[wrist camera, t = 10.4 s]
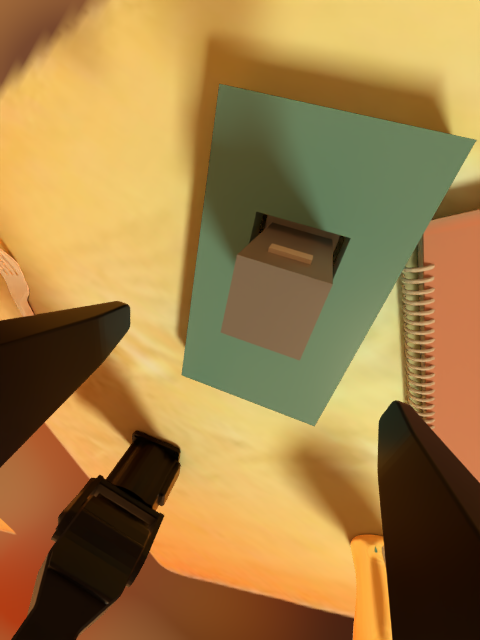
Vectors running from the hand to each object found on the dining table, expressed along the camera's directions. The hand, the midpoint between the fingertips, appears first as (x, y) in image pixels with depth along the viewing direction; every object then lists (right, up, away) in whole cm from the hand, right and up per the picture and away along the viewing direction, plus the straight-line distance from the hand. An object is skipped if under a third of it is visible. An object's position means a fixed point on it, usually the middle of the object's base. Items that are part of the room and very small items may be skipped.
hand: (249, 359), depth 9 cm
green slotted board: (+3, +4, +11) cm, 12 cm away
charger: (+3, +5, +10) cm, 12 cm away
